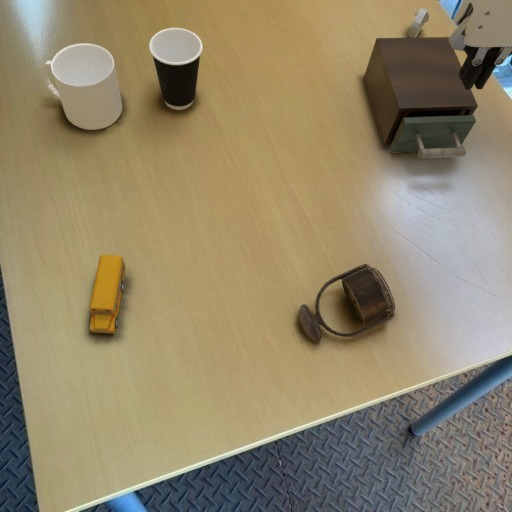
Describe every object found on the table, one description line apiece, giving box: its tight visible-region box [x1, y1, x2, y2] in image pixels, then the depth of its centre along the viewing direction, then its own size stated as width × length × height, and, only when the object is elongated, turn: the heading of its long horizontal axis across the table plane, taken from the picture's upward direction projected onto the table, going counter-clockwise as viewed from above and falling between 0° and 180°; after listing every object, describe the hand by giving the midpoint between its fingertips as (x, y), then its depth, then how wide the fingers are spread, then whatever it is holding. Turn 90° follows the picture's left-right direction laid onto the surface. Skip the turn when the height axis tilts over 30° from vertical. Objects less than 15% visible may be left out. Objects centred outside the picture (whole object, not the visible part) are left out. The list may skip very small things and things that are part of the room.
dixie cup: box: [148, 27, 204, 111], centre depth 86 cm, size 8×8×11 cm
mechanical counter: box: [298, 263, 396, 343], centre depth 71 cm, size 7×13×10 cm
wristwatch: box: [407, 7, 430, 38], centre depth 102 cm, size 3×5×5 cm, turn 150°
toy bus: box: [89, 254, 126, 335], centre depth 71 cm, size 3×10×4 cm, turn 178°
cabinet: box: [363, 36, 479, 147], centre depth 90 cm, size 16×13×9 cm
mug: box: [40, 42, 123, 131], centre depth 85 cm, size 12×9×9 cm
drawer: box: [389, 110, 477, 159], centre depth 88 cm, size 19×11×7 cm, turn 7°
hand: (470, 81), depth 74 cm, fingers closed
